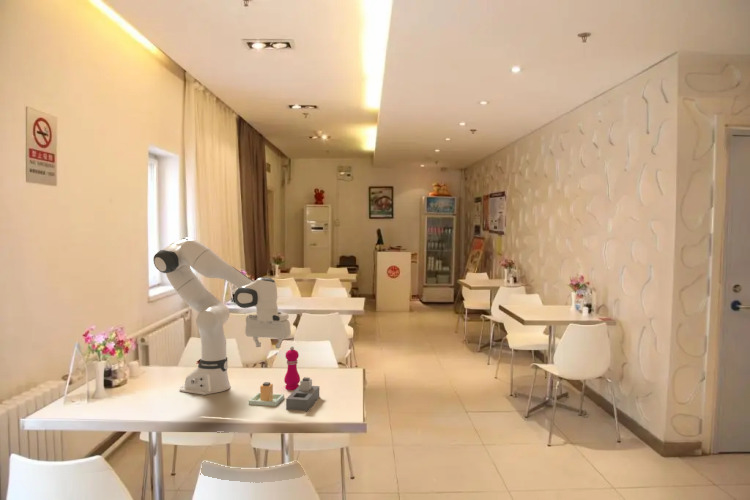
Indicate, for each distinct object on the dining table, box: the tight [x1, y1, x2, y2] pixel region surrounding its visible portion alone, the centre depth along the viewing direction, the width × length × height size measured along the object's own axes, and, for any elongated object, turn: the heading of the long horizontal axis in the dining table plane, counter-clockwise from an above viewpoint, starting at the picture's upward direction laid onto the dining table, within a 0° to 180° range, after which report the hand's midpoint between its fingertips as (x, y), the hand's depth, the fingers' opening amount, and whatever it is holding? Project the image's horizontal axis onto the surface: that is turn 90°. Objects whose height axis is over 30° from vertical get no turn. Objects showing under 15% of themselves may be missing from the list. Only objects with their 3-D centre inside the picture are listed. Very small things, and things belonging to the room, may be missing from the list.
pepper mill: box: [283, 346, 301, 391], centre depth 231 cm, size 7×7×20 cm
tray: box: [248, 392, 285, 407], centre depth 213 cm, size 12×10×2 cm
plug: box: [259, 381, 274, 401], centre depth 213 cm, size 4×4×8 cm
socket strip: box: [285, 384, 320, 413], centre depth 212 cm, size 9×18×5 cm, turn 171°
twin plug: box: [299, 376, 313, 391], centre depth 216 cm, size 4×4×8 cm
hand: (268, 347), depth 214 cm, fingers open, 8 cm apart
